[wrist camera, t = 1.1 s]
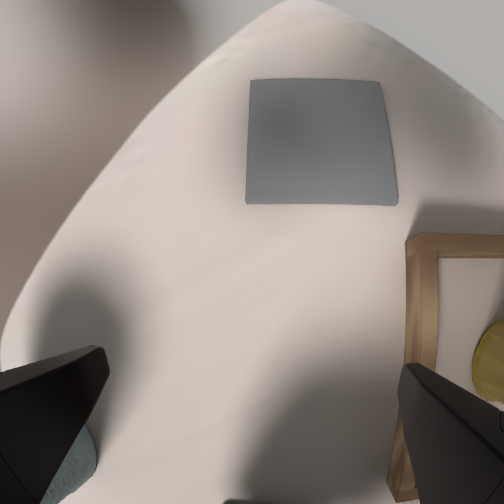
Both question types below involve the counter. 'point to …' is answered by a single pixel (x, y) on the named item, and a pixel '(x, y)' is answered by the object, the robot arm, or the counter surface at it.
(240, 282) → the counter surface
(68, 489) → the grey-blue cup
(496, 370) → the vase
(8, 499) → the robot arm
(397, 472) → the wooden frame
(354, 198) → the slate mat
